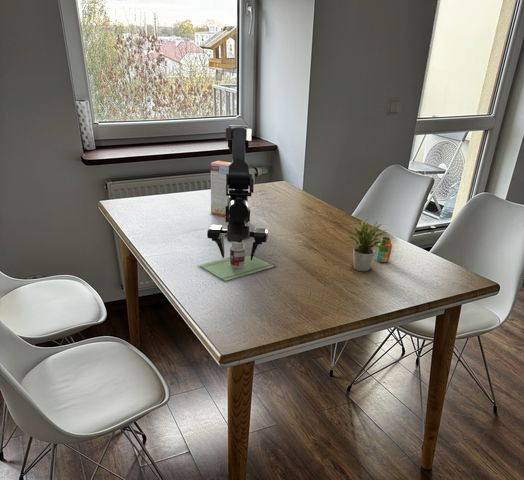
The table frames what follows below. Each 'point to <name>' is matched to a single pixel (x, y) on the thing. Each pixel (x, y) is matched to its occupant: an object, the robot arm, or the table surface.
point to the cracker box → (219, 187)
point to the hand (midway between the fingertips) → (237, 258)
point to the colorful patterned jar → (384, 250)
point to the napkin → (228, 272)
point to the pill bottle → (237, 255)
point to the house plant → (365, 246)
